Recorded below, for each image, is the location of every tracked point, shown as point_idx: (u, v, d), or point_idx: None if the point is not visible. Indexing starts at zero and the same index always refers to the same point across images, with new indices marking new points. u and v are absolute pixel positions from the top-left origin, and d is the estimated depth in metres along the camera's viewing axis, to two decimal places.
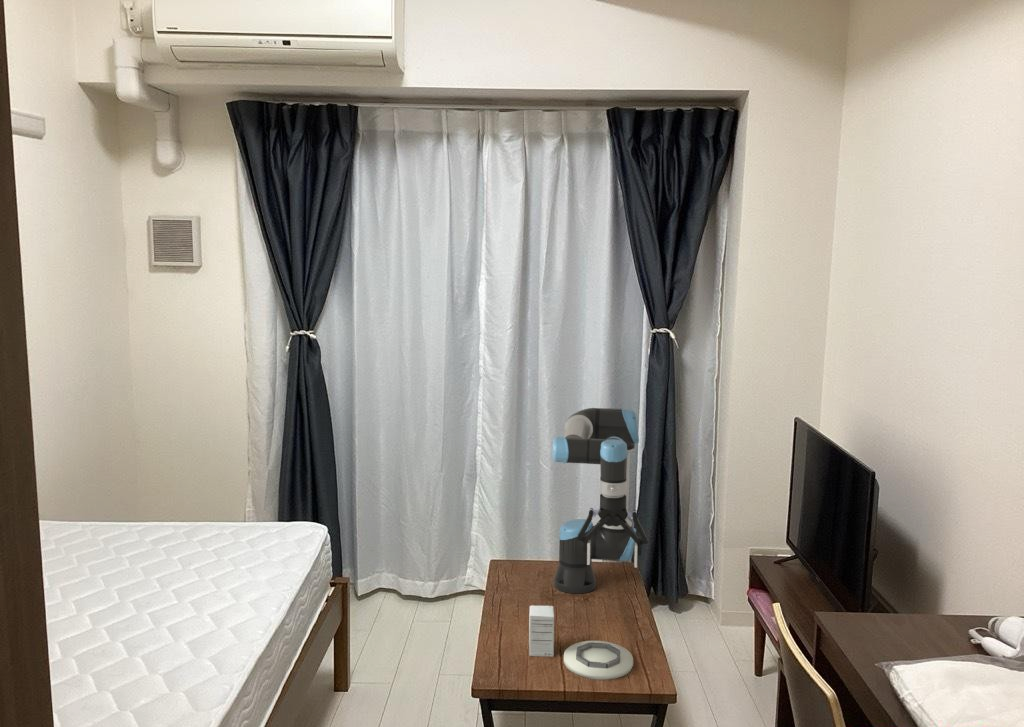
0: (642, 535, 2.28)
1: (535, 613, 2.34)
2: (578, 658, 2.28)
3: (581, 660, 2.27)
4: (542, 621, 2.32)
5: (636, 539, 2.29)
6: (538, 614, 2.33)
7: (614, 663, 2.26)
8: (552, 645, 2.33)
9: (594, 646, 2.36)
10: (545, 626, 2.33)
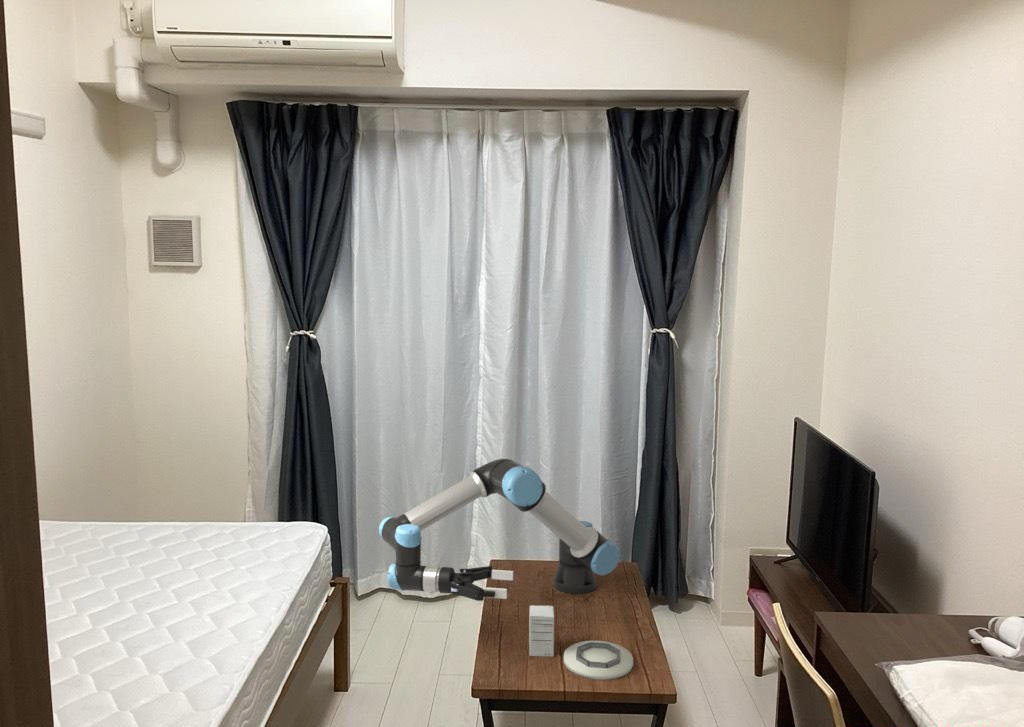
0: None
1: (535, 613, 2.34)
2: (578, 658, 2.28)
3: (581, 660, 2.27)
4: (542, 621, 2.32)
5: None
6: (538, 614, 2.33)
7: (614, 663, 2.26)
8: (552, 645, 2.33)
9: (594, 646, 2.36)
10: (545, 626, 2.33)
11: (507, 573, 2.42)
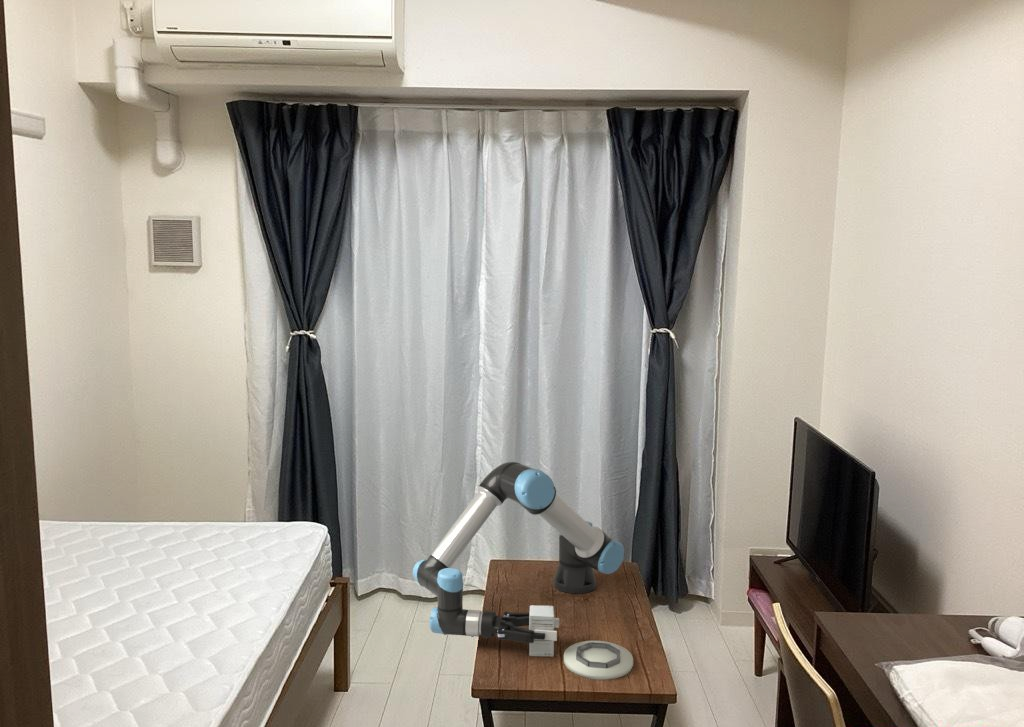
0: None
1: (535, 613, 2.34)
2: (578, 658, 2.28)
3: (581, 660, 2.27)
4: (542, 621, 2.32)
5: None
6: (538, 614, 2.33)
7: (614, 663, 2.26)
8: (552, 645, 2.33)
9: (594, 646, 2.36)
10: (545, 626, 2.32)
11: None
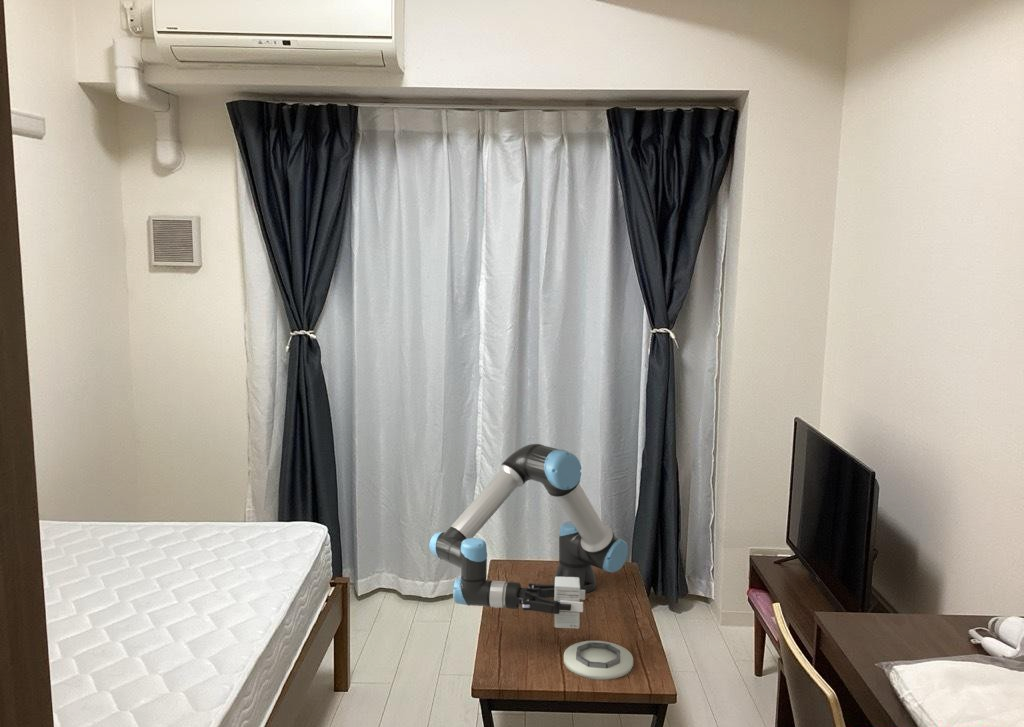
0: None
1: (561, 583, 2.29)
2: (578, 658, 2.28)
3: (581, 660, 2.27)
4: (568, 592, 2.27)
5: None
6: (564, 584, 2.28)
7: (614, 663, 2.26)
8: (578, 617, 2.28)
9: (594, 646, 2.36)
10: (570, 597, 2.27)
11: None
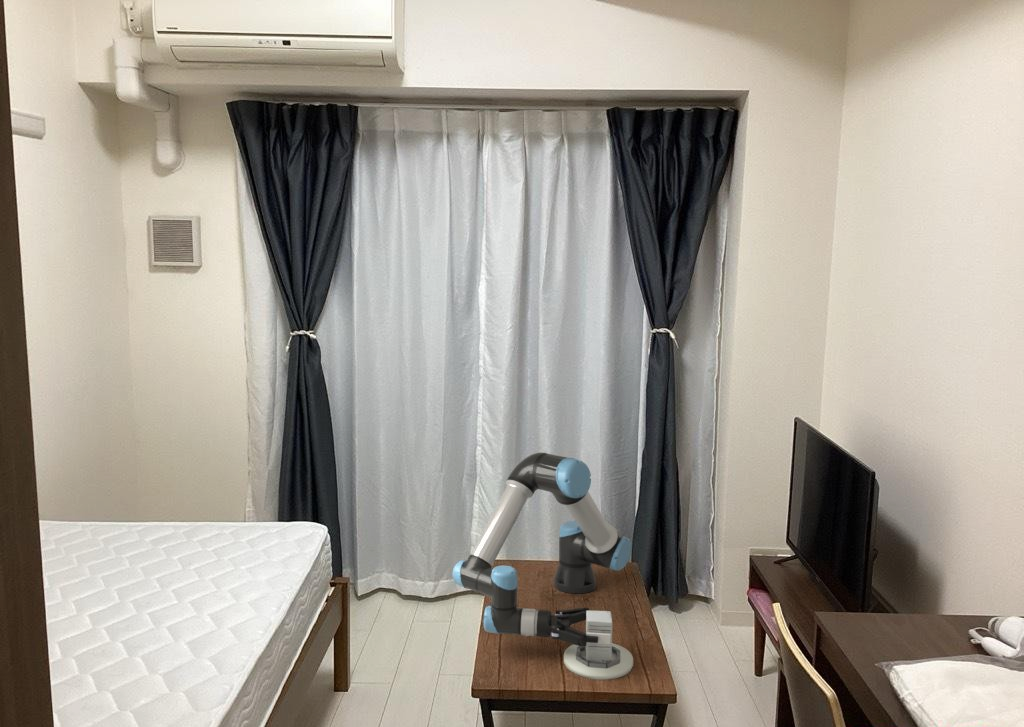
0: None
1: (593, 618, 2.27)
2: (578, 658, 2.28)
3: (581, 660, 2.27)
4: (600, 627, 2.26)
5: None
6: (596, 619, 2.27)
7: (614, 663, 2.26)
8: (610, 652, 2.27)
9: None
10: (602, 632, 2.26)
11: None
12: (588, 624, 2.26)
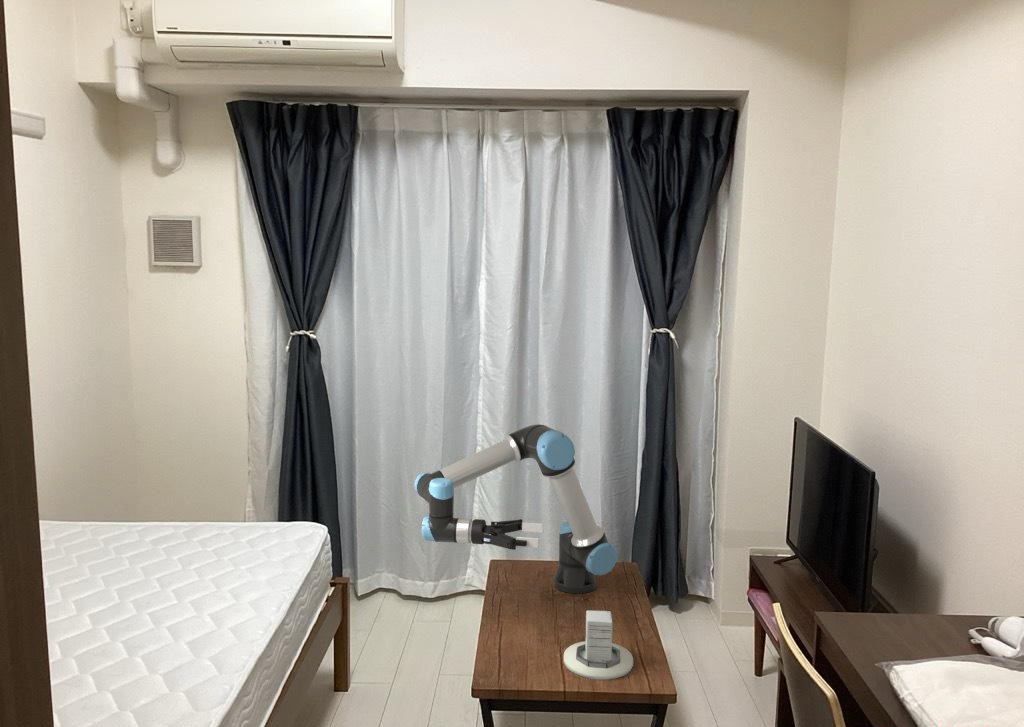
0: None
1: (593, 618, 2.27)
2: (578, 658, 2.28)
3: (581, 660, 2.27)
4: (600, 627, 2.26)
5: None
6: (596, 619, 2.27)
7: (614, 663, 2.26)
8: (610, 652, 2.27)
9: None
10: (602, 632, 2.26)
11: (537, 525, 2.50)
12: (588, 624, 2.26)
